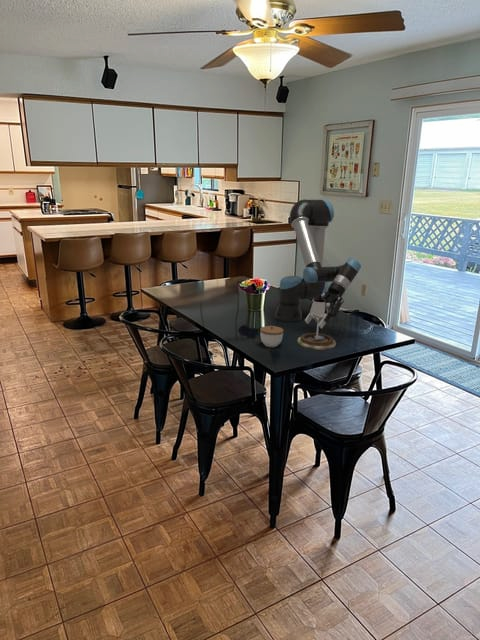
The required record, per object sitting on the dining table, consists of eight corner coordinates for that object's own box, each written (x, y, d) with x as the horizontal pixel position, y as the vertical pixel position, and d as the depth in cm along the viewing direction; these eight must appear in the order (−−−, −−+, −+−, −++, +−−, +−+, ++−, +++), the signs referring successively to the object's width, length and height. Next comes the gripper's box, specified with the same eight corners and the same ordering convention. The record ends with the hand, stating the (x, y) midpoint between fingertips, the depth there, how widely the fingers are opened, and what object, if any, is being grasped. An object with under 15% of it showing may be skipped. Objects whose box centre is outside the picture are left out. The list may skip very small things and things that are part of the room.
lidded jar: (284, 348, 218) (285, 329, 216) (261, 349, 217) (262, 329, 215) (280, 341, 228) (281, 322, 226) (258, 341, 228) (259, 322, 225)
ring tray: (294, 347, 221) (295, 341, 220) (300, 335, 238) (300, 330, 237) (334, 351, 217) (334, 345, 216) (337, 339, 233) (337, 334, 233)
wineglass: (321, 341, 221) (324, 303, 216) (305, 338, 225) (307, 301, 220) (328, 337, 228) (331, 300, 223) (312, 333, 232) (315, 297, 227)
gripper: (359, 295, 222) (333, 334, 217) (325, 287, 238) (300, 323, 233) (353, 285, 218) (326, 325, 212) (319, 278, 233) (293, 314, 228)
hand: (313, 324), depth 222 cm, fingers closed on wineglass, 8 cm apart
